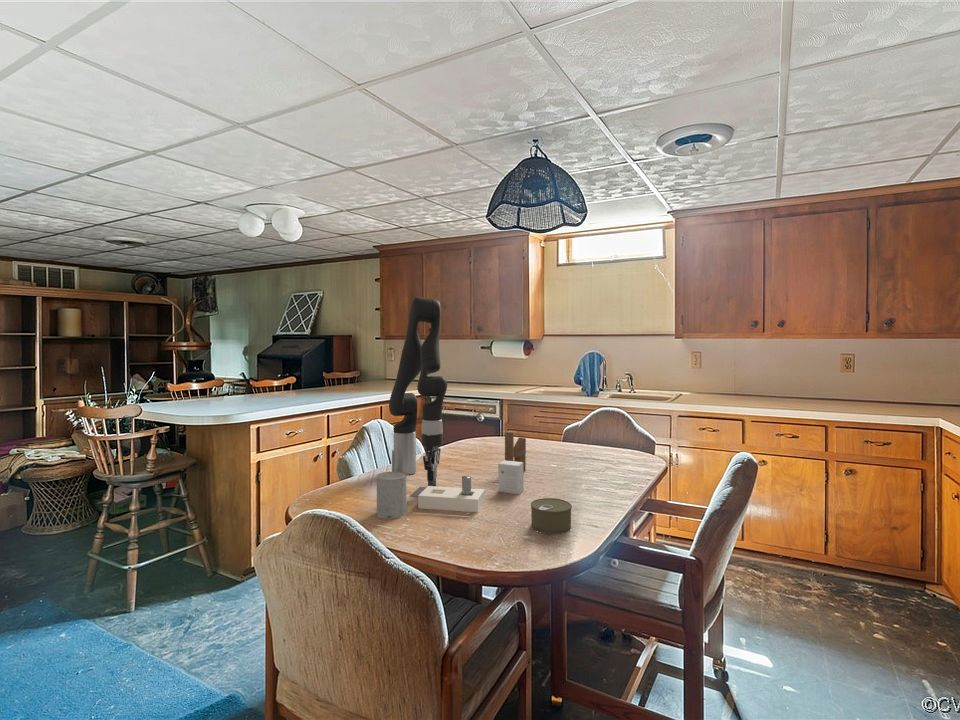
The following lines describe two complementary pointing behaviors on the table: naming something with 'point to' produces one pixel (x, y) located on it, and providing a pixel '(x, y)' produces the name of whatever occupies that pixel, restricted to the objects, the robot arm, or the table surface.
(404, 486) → the grey concrete cylinder
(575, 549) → the table surface
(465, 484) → the seated pin
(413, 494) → the mat
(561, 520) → the can
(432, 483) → the steel pin
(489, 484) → the table surface
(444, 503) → the bore block
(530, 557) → the table surface
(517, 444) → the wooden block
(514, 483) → the small box
